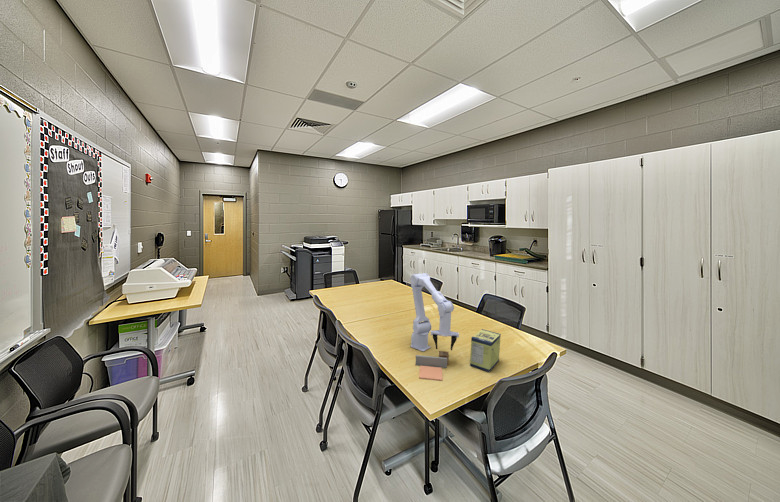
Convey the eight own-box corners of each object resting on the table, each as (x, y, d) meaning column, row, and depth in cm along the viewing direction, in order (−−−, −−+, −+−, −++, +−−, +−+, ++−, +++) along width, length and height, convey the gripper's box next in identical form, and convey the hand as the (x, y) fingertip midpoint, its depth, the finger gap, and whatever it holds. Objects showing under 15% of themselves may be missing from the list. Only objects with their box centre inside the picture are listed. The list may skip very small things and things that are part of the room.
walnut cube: (438, 364, 148) (439, 354, 148) (438, 359, 153) (438, 350, 153) (448, 365, 148) (448, 355, 147) (447, 360, 152) (448, 351, 152)
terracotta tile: (419, 378, 134) (419, 377, 134) (420, 366, 145) (420, 365, 145) (442, 380, 133) (442, 379, 133) (441, 368, 144) (441, 367, 144)
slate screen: (415, 365, 147) (415, 356, 146) (415, 364, 148) (415, 355, 147) (446, 368, 144) (447, 359, 144) (446, 367, 145) (447, 357, 145)
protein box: (499, 361, 153) (501, 333, 151) (489, 373, 141) (491, 343, 139) (480, 355, 159) (481, 328, 157) (469, 365, 147) (470, 337, 145)
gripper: (431, 325, 145) (430, 351, 147) (459, 328, 143) (458, 353, 145) (431, 321, 152) (430, 345, 154) (458, 323, 150) (457, 347, 151)
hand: (443, 348), depth 150 cm, fingers open, 7 cm apart
